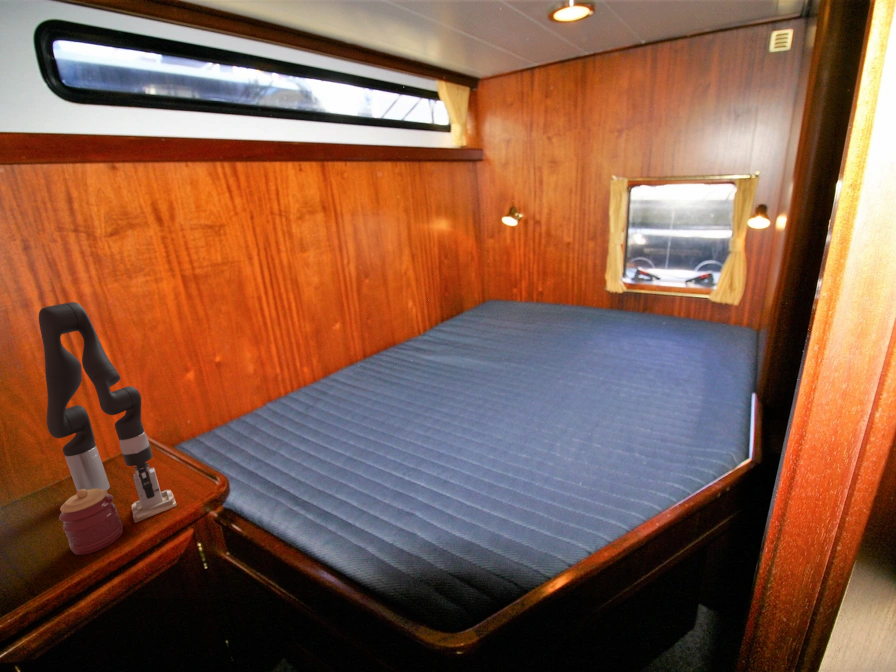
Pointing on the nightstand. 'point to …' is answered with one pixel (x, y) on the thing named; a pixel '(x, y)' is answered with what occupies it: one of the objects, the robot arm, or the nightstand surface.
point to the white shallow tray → (153, 507)
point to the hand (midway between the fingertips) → (149, 493)
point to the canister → (90, 521)
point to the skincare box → (141, 492)
